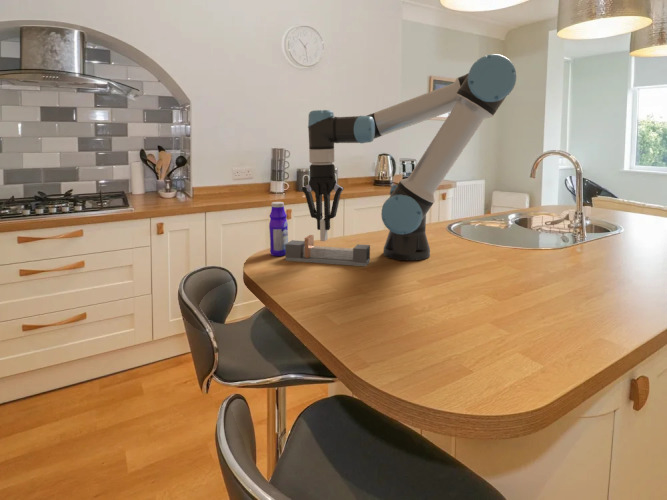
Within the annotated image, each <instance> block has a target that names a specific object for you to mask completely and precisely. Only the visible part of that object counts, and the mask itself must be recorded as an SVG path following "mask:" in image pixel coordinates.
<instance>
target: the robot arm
mask: <svg viewBox="0 0 667 500" xmlns="http://www.w3.org/2000/svg"><path fill="white" fill-rule="evenodd" d="M516 82H517V72H516V68H515V65H514V63H513V62H512V61H511V60H510V59H509V58H507V57H506V56H505V55H502V54H497V53H492V54H491V53H490V54H487V55H484V56H481V57H480V58H479V59H477V60H476V61H475V62H474V63H473V64H472V66H471V67H470V68H469V71H468V73H466V74H464V75H461V76H458V77H456V79H455V80H454V82H453V83H451V84H448V85H445V86H442V87H439V88H437V89H434V90H432V91H428V92H427V93H426V92H425V93H424V94H420V95H417V96H416V97H413V98H410V99H406V100H405V101H402V102H399V103H398V104H393V105H392V106H389V107H387V108H384V109H381V110H379V111H375V112H373V113H370V114H367V115H357V116H355V115H354V116H335V115H334V111H333V110H330V109H329V110H327V109H323V110H322V109H320V110H319V109H318V110H317V109H316V110H311V111H309V112H308V125H307V128H308V146H309V147H308V151H309V153H308V154H309V155H308V157H309V159H308V160H309V163H310V165H309V180H308V184H306V186H302V187H301V191H302V192H303V193H304V195H305V199H306V203H307V206H308V210H309V214H310V218H313V219H315V220H316V228H317V231H319V233H320V242H326V241H328V231H329V230H330V229H331V220H332V219H333V218H335V217H336V215H337V213H338V208H339V202H340V199H341V194H342V193H343V191H344V189H345V188H344V187H343V186H340V185H339V184H337V181H336V178H335V177H336V176H335V175H336V172H335V171H336V170H335V165H334V163H335V144H365V143H366V144H367V143H372V142H373V141H374V140H375V139H378V138H380V137H383V136H385V135H388V134H392V133H393V132H394V133H395V132H397V131H399V130H400V131H401V130H403V129H405V128H408V127H411V126H414V125H416V124H419V123H423V122H425V121H428V120H431V119H433V118H437V117H439V116H442V115H445V114H448V113H449V114H448V116H447V117H446V118H445V120H444V122H443V124H442V125H441V127H440V128H439V130H438V131H437V133H436V135H435V136H434V137H433V139H432V140H431V142H430V144H429V145H428V147H427V148H426V150H425V151H424V153H423V155H422V156H421V157H420V158H419V160H418V161H417V163H416V165H415V166H414V169H413V170H412V171H411V173H410V175H409V176H408V177H407V178H403V179H400V180H399V182H398V183H397V184H393V185H392V186H391V187H390V189H389V190H390V191H389V197H388V199H386V200H385V202H383V205H382V208H381V220H382V223H383V225H384V226H385V227H386V229H388V235H387V238H386V241H385V243H384V246H383V256H384V257H385V258H388V259H392V260H399V261H421V260H426V259H428V258H430V257H431V247H430V245H429V240H428V237H427V233H426V225H427V214H428V212H429V210H430V209H431V207H432V206H433V204H434V203H435V196H434V194H435V193H436V191H437V190H438V188H439V186H440V185H441V183H442V182H443V181H444V179H445V178H446V177H447V176H448V175H447V174H448V173H449V172H450V170H451V169H452V167H453V166H454V165H455V163H456V161H457V160H458V159H459V157H460V156H461V155H462V152H463V151H464V150H465V148H466V147H467V145H468V143H469V142H470V141H471V139H472V138H473V136H474V135H475V133H476V131H477V130H478V129H479V127H480V126H481V124H482V123H483V121H484V120H486V119H490V118H493V117H494V115H495V114H496V112H497V111H498V109H499V108H500V107H501V105H502V103H503V102H504V101H505V99H506V98H507V96H509V95H510V94H511V92H512V91H513V90H514V88H515V85H516ZM333 190H334V192H335V193H334V196H333V199H332V206H331V193H332V192H333ZM312 191H313V192H314V194H315V195H314V197H315V202H314V198H313V195H312ZM323 211H324V212H323ZM323 213H324V216H323Z"/></svg>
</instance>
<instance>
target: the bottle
mask: <svg viewBox="0 0 667 500" xmlns="http://www.w3.org/2000/svg"><path fill="white" fill-rule="evenodd" d="M270 205H271V210H270V214H269V218H270V220H269V223H268V224H269V226H268V228H269V229H268V230H269V251H270V255H271V256H272V257H282V256H286V251H285V244H286V243H288V242H289V232H288V231H289V230H288V229H289V227H288V226H289V225H288V220H287V216H288V215H287V213H286V211H285V202H283V201H273V202H271V204H270Z"/></svg>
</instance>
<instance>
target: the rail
mask: <svg viewBox="0 0 667 500" xmlns="http://www.w3.org/2000/svg"><path fill="white" fill-rule="evenodd" d="M304 245H305V240H296V239H295V240H293V239H291V240H290V241H288V243H286V244H285V251H286V254H285V261H287V262H299V263H301V262H302V263H315V264H326V265H327V264H328V265H343V266H355V267H367V265H368V264H369V263H370V262H371V245H370V244H360V243H359V244H358V243H357V244H356V245H355V246H354V247H353V248H352V249H353V260H340V259H326V258H312V257H309V258H305V257H301V247H302V246H304Z"/></svg>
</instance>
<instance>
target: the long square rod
mask: <svg viewBox="0 0 667 500" xmlns="http://www.w3.org/2000/svg"><path fill="white" fill-rule="evenodd" d="M314 238H315V237H314V234H309V235H308V236H306V237H304V241H305V245H304V246H302V247H301V257H305V258H309V257H312V258H326V259H340V260H353V248H351V247H349V248H348V247H332V246H321V245H319V246H318V245H315V244H314V243H315V240H314Z"/></svg>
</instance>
